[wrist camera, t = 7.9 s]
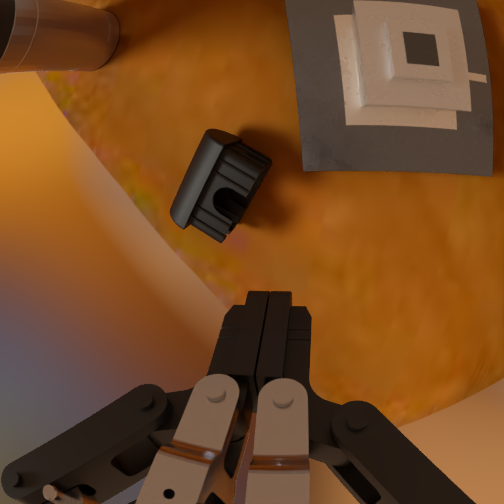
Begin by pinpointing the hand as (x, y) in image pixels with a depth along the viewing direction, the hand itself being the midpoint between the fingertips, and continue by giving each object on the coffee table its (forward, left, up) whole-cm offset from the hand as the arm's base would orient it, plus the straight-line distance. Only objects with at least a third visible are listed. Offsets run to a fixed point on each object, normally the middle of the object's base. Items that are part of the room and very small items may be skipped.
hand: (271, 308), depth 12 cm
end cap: (-10, 0, -25) cm, 27 cm away
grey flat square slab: (+9, +11, -23) cm, 27 cm away
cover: (+9, +12, -21) cm, 26 cm away
